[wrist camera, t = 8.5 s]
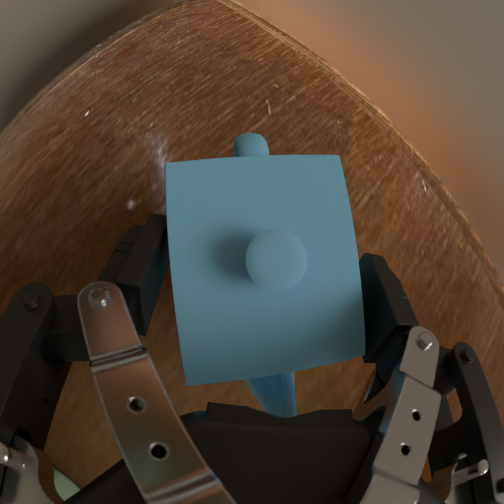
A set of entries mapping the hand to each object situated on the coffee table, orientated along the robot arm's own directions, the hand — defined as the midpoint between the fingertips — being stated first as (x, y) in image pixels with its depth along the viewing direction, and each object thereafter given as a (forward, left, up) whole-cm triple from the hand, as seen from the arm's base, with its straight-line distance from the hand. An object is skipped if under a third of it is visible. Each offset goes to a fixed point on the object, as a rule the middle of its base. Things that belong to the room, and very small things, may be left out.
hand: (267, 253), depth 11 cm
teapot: (0, -1, -5) cm, 5 cm away
